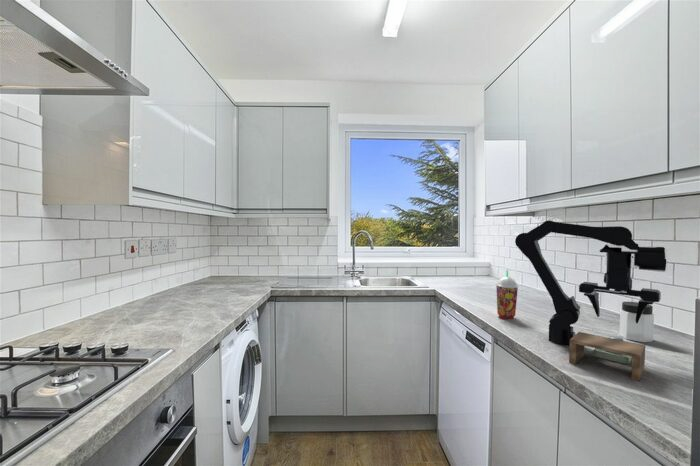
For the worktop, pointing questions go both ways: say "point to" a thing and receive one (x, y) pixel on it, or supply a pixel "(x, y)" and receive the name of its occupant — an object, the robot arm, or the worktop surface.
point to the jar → (636, 330)
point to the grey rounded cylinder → (616, 339)
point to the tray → (611, 356)
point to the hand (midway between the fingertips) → (616, 319)
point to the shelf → (610, 345)
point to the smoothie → (506, 297)
